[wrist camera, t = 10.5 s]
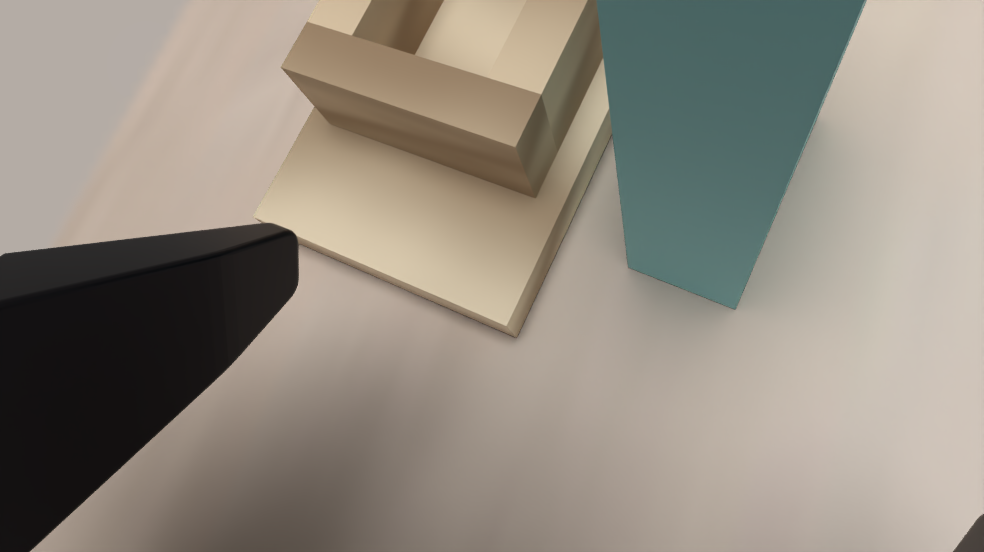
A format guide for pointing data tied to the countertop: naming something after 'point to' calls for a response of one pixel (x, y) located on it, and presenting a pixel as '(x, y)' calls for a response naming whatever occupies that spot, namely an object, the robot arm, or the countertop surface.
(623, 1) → the teal panel
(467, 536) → the countertop surface
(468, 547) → the countertop surface
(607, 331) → the countertop surface
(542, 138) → the rack
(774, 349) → the countertop surface
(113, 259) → the robot arm
